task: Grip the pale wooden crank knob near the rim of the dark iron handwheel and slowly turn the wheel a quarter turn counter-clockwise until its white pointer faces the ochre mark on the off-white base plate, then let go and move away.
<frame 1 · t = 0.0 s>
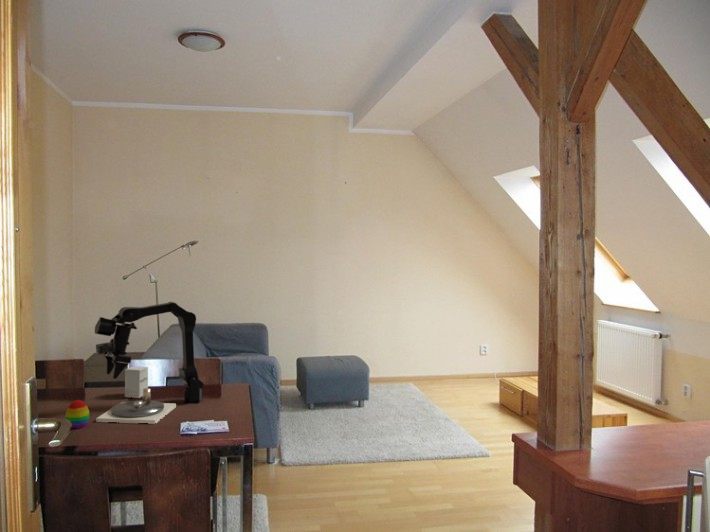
hand: (111, 376, 234), 15 cm above the table, tool pointing down, fingers open, 9 cm apart
supplement box: (136, 396, 263), on the table
decorative egg: (77, 426, 219), on the table
base plate: (137, 414, 236), on the table
handwheel: (138, 402, 236), point 5 cm above the table, hinge at 0.0°
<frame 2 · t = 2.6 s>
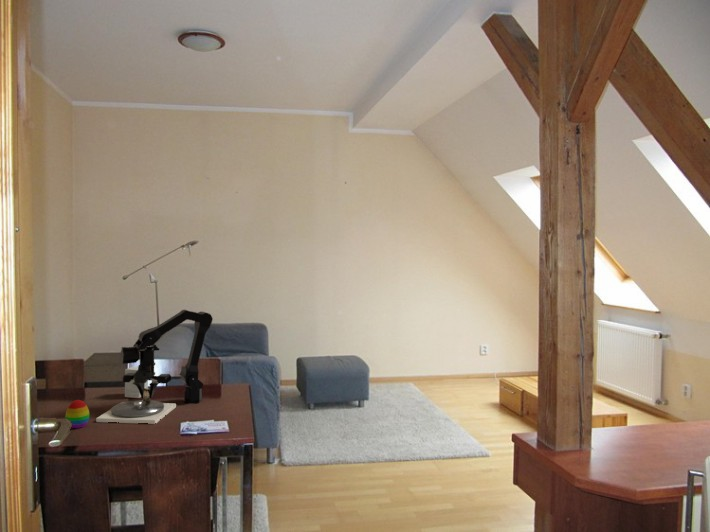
hand: (146, 398, 244), 4 cm above the table, tool pointing down, fingers closed on handwheel, 3 cm apart
handwheel: (138, 402, 236), point 5 cm above the table, hinge at 0.0°, touching gripper
everything else where it was.
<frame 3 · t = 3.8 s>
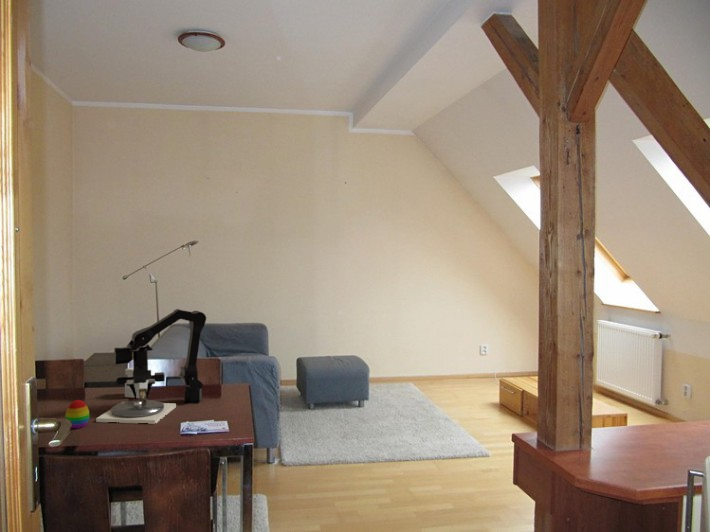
hand: (141, 398, 244), 4 cm above the table, tool pointing down, fingers open, 4 cm apart
handwheel: (138, 402, 236), point 5 cm above the table, hinge at 10.7°, touching gripper
everything else where it was.
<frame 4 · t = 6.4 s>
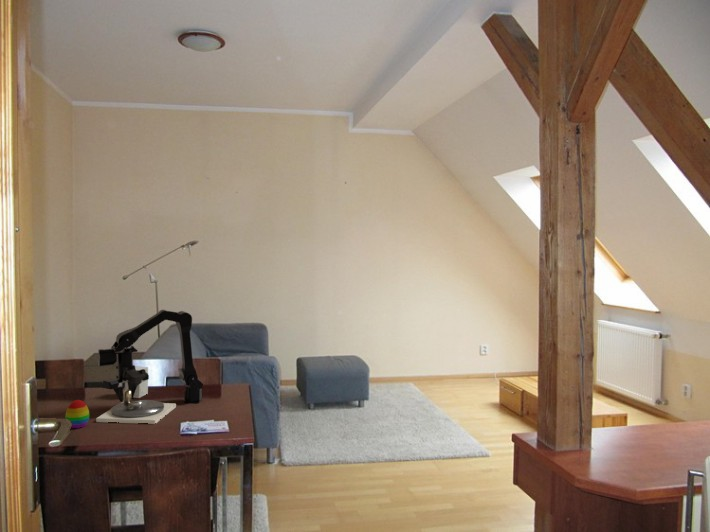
hand: (126, 400, 241), 4 cm above the table, tool pointing down, fingers open, 4 cm apart
handwheel: (137, 402, 236), point 5 cm above the table, hinge at 49.6°, touching gripper
everything else where it was.
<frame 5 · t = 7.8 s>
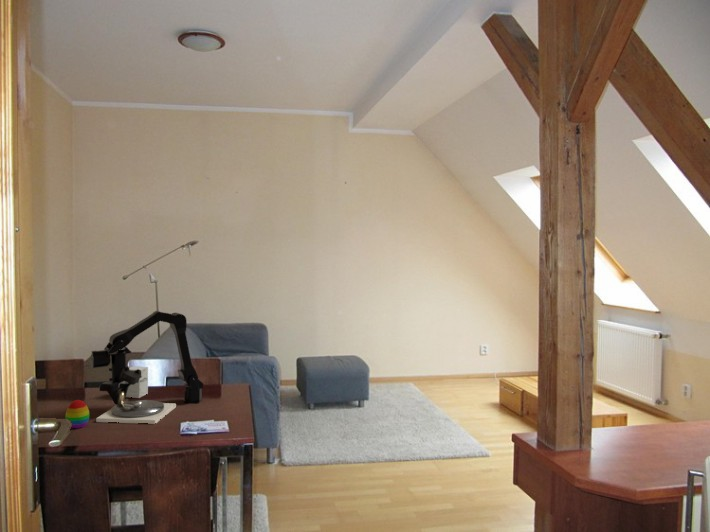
hand: (119, 402, 238), 4 cm above the table, tool pointing down, fingers open, 4 cm apart
handwheel: (137, 402, 236), point 5 cm above the table, hinge at 72.2°, touching gripper
everything else where it was.
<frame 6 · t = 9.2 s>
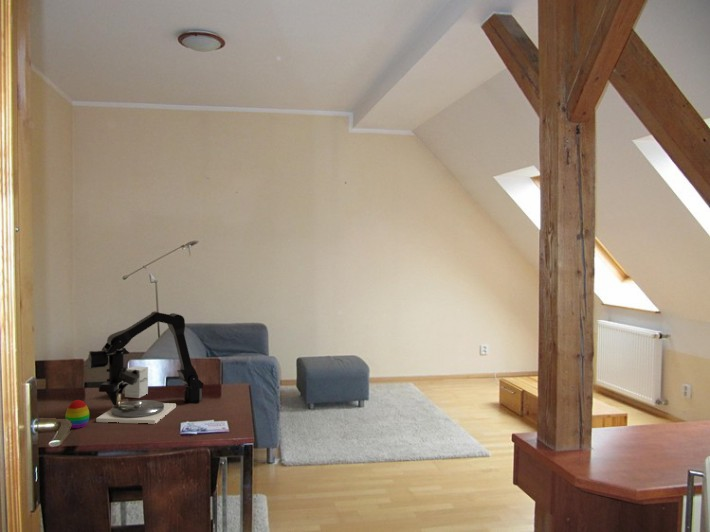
hand: (116, 403, 236), 4 cm above the table, tool pointing down, fingers closed on handwheel, 3 cm apart
handwheel: (137, 402, 235), point 5 cm above the table, hinge at 87.1°, touching gripper
everything else where it was.
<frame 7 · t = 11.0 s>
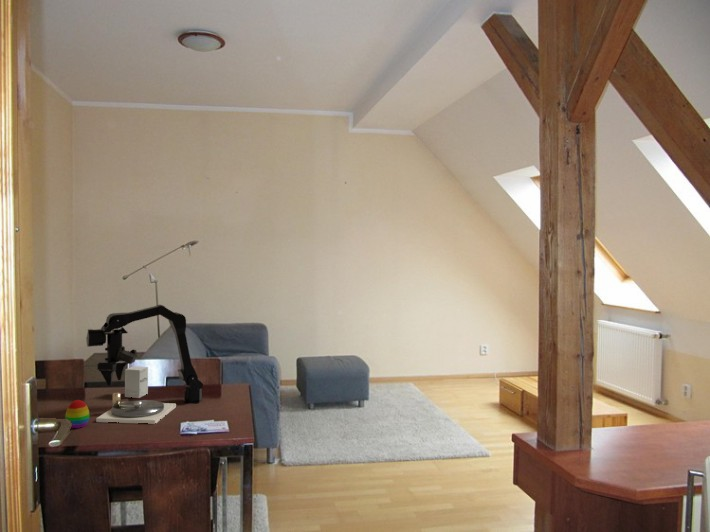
hand: (114, 382, 238), 12 cm above the table, tool pointing down, fingers open, 9 cm apart
handwheel: (137, 402, 235), point 5 cm above the table, hinge at 87.3°
everything else where it was.
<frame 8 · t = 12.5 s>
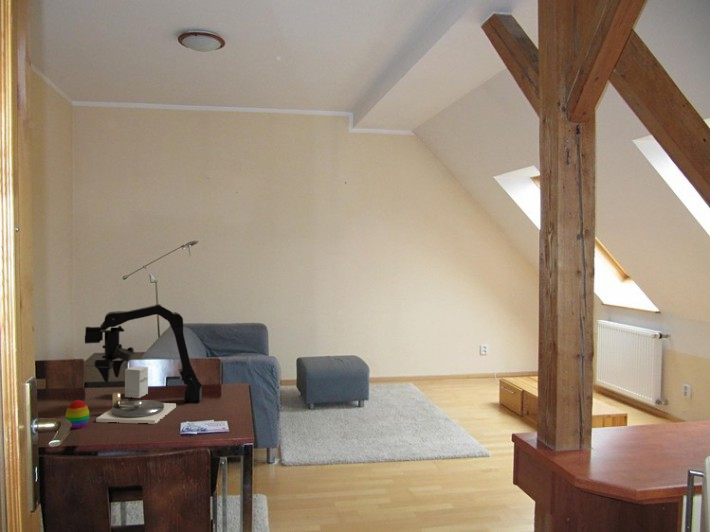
hand: (111, 379, 243), 12 cm above the table, tool pointing down, fingers open, 9 cm apart
nothing on the table moved.
at the end: handwheel at +87° (first picture: +0°) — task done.
